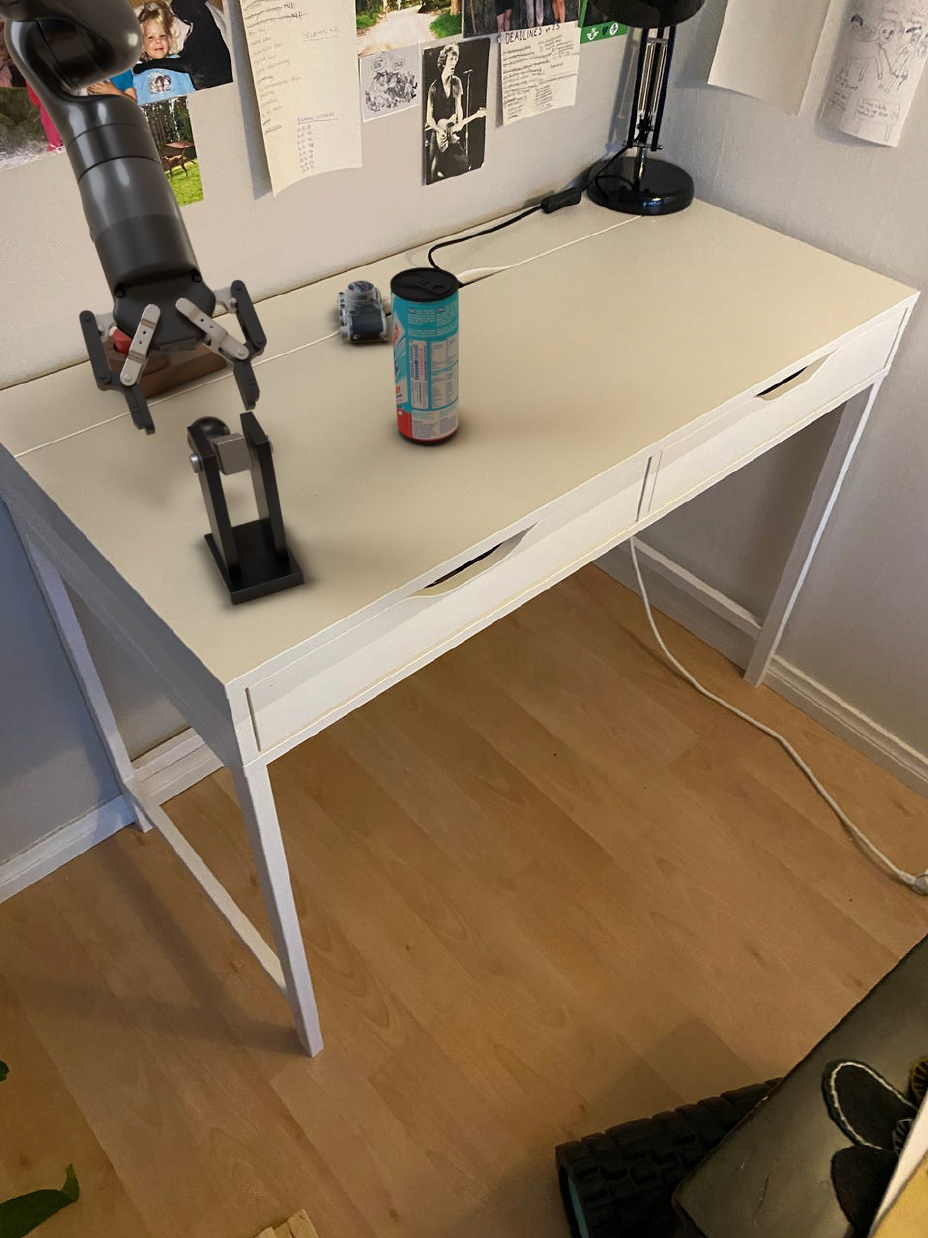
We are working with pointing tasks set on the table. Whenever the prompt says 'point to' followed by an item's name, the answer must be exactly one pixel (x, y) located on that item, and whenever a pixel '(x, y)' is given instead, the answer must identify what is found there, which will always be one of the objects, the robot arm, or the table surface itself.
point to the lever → (226, 446)
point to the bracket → (254, 549)
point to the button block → (167, 366)
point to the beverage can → (426, 353)
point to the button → (122, 341)
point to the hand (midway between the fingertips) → (202, 419)
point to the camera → (362, 313)
